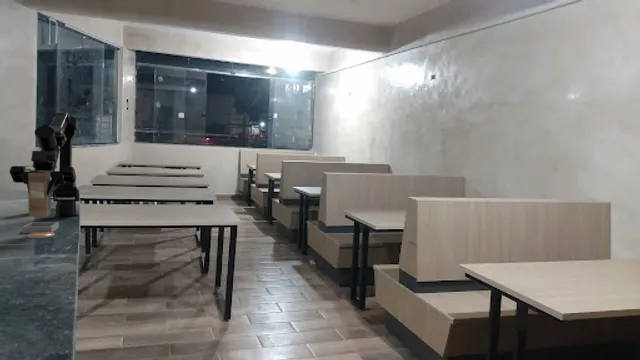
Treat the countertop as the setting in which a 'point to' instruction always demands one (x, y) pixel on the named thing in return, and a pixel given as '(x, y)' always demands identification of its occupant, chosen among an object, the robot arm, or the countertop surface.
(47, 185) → the walnut box
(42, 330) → the countertop surface
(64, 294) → the countertop surface
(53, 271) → the countertop surface
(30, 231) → the gray tray
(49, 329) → the countertop surface
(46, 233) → the brown curved piece
